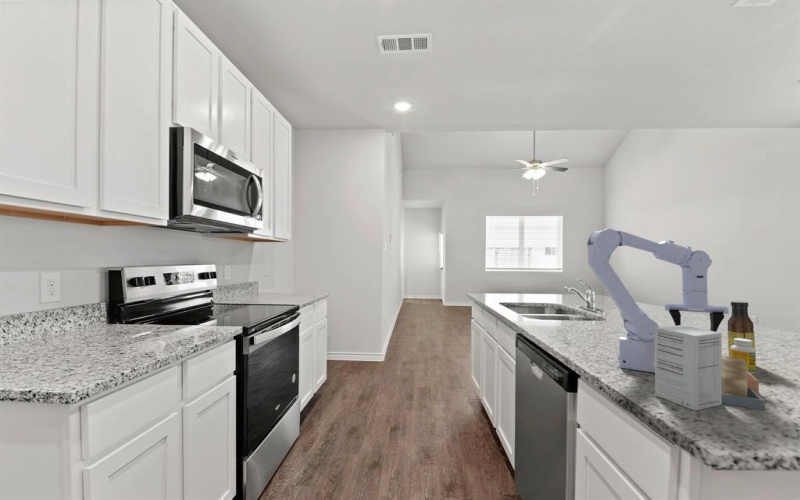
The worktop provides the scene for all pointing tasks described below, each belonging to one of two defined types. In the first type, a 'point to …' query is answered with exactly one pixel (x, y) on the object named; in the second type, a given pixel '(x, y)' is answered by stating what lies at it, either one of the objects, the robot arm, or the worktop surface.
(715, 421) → the worktop surface
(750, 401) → the slate tray
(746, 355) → the supplement bottle
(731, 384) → the maple peg
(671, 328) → the supplement box
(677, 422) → the worktop surface
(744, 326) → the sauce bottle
